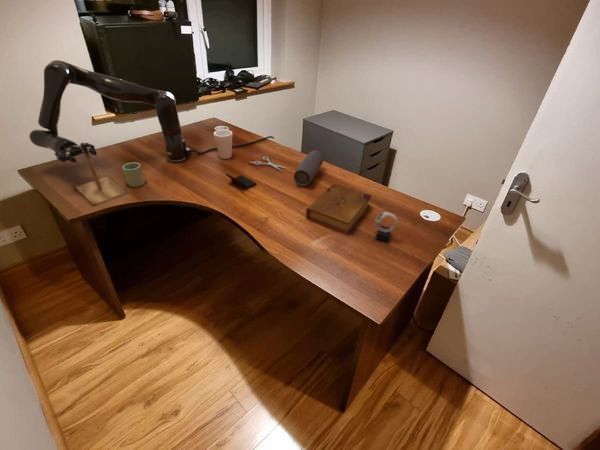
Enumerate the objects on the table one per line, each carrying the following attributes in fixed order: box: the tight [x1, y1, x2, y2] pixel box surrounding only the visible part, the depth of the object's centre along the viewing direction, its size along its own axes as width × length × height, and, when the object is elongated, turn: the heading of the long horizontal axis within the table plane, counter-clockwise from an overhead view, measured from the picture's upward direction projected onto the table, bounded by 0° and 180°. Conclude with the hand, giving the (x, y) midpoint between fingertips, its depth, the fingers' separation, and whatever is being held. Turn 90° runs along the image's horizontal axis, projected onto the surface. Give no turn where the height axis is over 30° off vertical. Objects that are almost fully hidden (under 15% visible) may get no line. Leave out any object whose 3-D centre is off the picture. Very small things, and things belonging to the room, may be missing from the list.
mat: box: [75, 176, 127, 206], centre depth 147 cm, size 14×20×1 cm
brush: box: [80, 142, 102, 190], centre depth 140 cm, size 2×2×22 cm
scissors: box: [249, 156, 286, 172], centre depth 171 cm, size 11×1×20 cm
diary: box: [305, 183, 372, 235], centre depth 137 cm, size 23×19×6 cm
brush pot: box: [122, 161, 146, 188], centre depth 150 cm, size 7×8×9 cm
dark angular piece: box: [225, 173, 257, 190], centre depth 154 cm, size 12×7×10 cm
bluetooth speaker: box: [293, 149, 325, 187], centre depth 159 cm, size 23×9×10 cm, turn 161°
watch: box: [374, 211, 398, 243], centre depth 123 cm, size 6×8×11 cm
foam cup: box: [213, 129, 234, 160], centre depth 174 cm, size 10×9×13 cm
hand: (85, 156), depth 138 cm, fingers open, 8 cm apart
